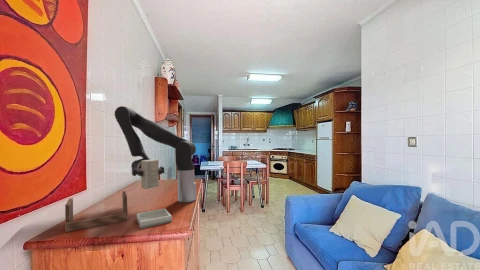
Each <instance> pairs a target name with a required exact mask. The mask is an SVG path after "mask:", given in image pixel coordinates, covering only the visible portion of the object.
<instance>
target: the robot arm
mask: <svg viewBox="0 0 480 270" xmlns="http://www.w3.org/2000/svg"><path fill="white" fill-rule="evenodd" d="M114 118H115V119H116V122H117V123H118V126H119V127H120V130H121V131H122V134H123V135H124V138H125V140H126V142H127V143H126V144H127V145H128V148H129V152H130V155H131V156H132V157H134V158H135V157H141V158H140V159H136V160H134V161H133V162H132V163H131V175H132V176H133V177H136V176H138V177H141V176H142V171H141V161H142V160H151V159H150V158H149V155H148V154H147V153H146V151H145V149H144V146H143V143H142V140H141V139H140V136H139V135H138V134H137V132H136V131H135V129H134V127H135V128H136V129H138V130H140V131H141V132H142V133H143V135H145V136H146V137H148V138H149V139H150V140H152V141H155V142H157V143H159V144H162V145H165V146H168V147H169V146H170V147H172V148H173V149H174V155H175V165H176V168H177V174H176V176H177V177H176V178H177V202H179V203H191V202H194V201H197V183H196V182H195V181H196V180H195V164H194V163H193V160H192V159H193V158H192V156H194V155H195V153H196V151H197V147H196V144H194V143H193V141H190V140H187V139H185V138H183V137H181V136H178V135H176V134H175V133H174V132H172V131H171V130H169V129H167V128H165V127H164V126H162V125H160V124H159V123H157V122H155V121H152V120H150V119H147V118H145V117H144V116H142V115H140V114H139V113H138V112H136V111H135V109H134V110H133V109H132V108H130V107H127V106H118V107H116V109H115V110H114ZM162 174H165V167H164V166H162V165H161V166H159V176H160V175H162Z"/></svg>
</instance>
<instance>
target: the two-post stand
mask: <svg viewBox="0 0 480 270" xmlns="http://www.w3.org/2000/svg"><path fill="white" fill-rule="evenodd" d="M121 195H122V199H121V200H122V213H115V214H110V215H104V216H98V217H93V218H87V219H82V220H77V221H74V198H73V197H71V198H68V200H67V201H66V203H65V205H64V209H65V210H64V213H65V218H64V219H65V223H64V232H65V233H67V232H73V231H78V230H83V229H84V230H85V229H88V228H93V227H99V226H103V225H108V224H115V223H120V222H123V221H124V222H125V221H128V220H129V219H128V218H129V217H128V215H129V214H128V213H129V212H128V195H127V193H126V191H122V193H121Z"/></svg>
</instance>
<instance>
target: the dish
mask: <svg viewBox="0 0 480 270" xmlns="http://www.w3.org/2000/svg"><path fill="white" fill-rule="evenodd" d="M172 216H173V215H171V213H170V212H169V211H168V210H167V209H166V208H160V209H154V210H148V211H143V212H138V213H136V221H137V224H138V227H139V229H140V230H141V229H145V228H149V227H154V226H159V225H160V226H161V225H163V224H164V225H165V224H168V223H172V222H173V217H172Z"/></svg>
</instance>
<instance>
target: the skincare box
mask: <svg viewBox="0 0 480 270" xmlns="http://www.w3.org/2000/svg"><path fill="white" fill-rule="evenodd" d="M159 167H160V166H159V159H156V158H154V159H150V160H142V161H141V171H142V176H141V179H140V180H141V188H142V189H145V190H149V189H154V188H158V187H160V175H159Z"/></svg>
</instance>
